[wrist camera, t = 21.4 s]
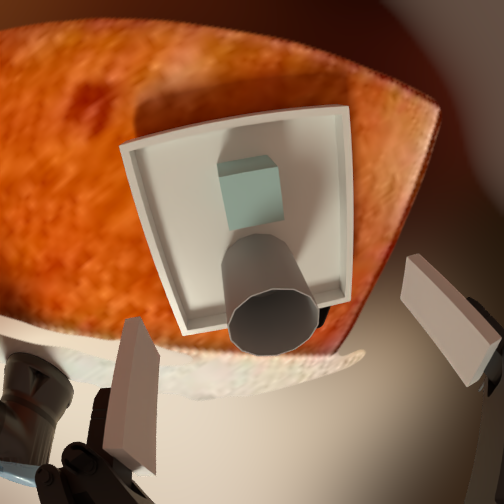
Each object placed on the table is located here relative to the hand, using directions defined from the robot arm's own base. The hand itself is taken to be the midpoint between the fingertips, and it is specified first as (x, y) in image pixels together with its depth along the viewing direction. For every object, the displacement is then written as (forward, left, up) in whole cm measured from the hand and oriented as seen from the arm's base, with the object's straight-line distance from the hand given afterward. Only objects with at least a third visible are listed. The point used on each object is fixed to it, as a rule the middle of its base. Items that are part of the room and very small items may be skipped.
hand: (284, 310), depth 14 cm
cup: (0, -10, -19) cm, 22 cm away
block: (+1, 0, -19) cm, 19 cm away
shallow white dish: (0, -5, -21) cm, 22 cm away
